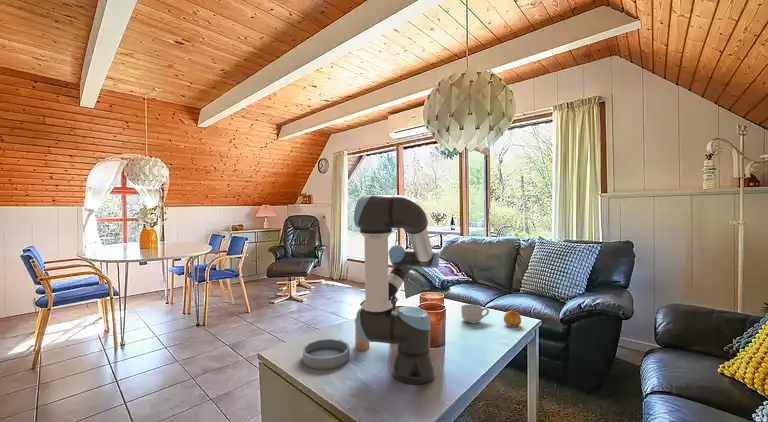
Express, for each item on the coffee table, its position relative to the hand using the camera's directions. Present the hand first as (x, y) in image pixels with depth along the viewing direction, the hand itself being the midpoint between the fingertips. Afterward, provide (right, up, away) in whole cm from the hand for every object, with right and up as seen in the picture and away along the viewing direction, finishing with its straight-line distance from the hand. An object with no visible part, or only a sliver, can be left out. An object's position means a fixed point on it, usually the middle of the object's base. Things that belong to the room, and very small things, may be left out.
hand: (366, 325), depth 150 cm
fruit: (+73, -9, +26) cm, 77 cm away
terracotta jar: (-2, -9, -2) cm, 9 cm away
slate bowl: (-15, -9, -13) cm, 22 cm away
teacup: (+55, -8, +31) cm, 64 cm away
